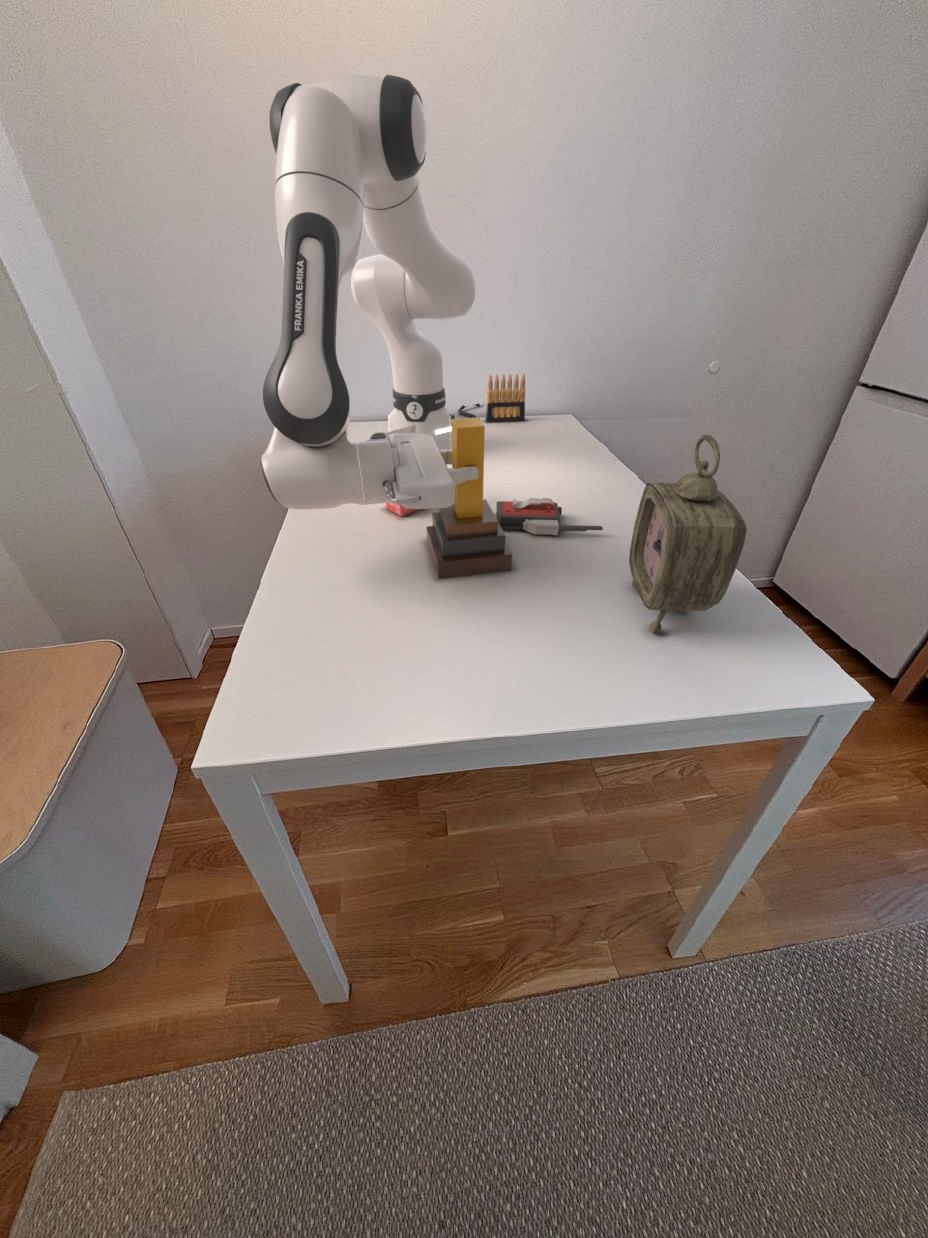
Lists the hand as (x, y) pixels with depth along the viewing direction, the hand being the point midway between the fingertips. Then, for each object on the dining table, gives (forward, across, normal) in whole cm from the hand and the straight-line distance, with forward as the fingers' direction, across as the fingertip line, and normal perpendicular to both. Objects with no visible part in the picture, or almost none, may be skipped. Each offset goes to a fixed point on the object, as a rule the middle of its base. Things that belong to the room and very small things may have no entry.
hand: (473, 464), depth 78 cm
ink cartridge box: (-8, +20, +16) cm, 27 cm away
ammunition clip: (+24, +68, +16) cm, 74 cm away
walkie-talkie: (+15, +7, +16) cm, 23 cm away
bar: (-1, 0, +8) cm, 8 cm away
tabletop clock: (+24, -21, +16) cm, 35 cm away
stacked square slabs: (-1, 0, +16) cm, 16 cm away
